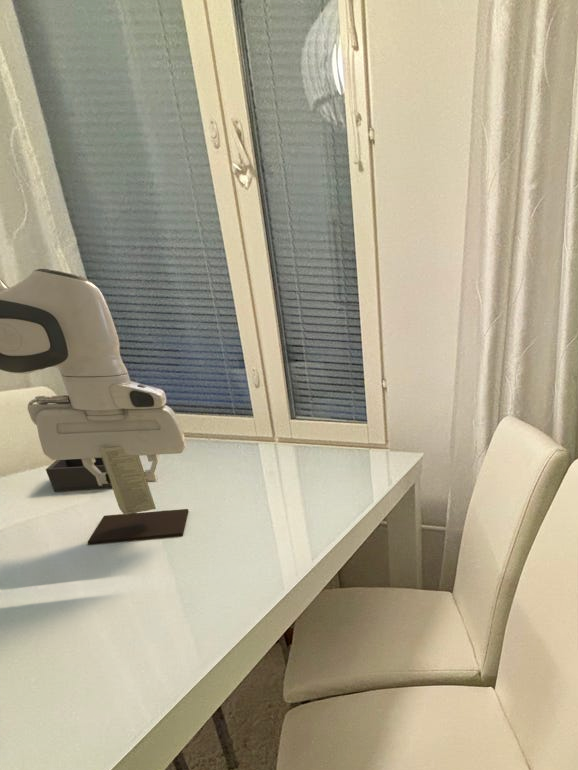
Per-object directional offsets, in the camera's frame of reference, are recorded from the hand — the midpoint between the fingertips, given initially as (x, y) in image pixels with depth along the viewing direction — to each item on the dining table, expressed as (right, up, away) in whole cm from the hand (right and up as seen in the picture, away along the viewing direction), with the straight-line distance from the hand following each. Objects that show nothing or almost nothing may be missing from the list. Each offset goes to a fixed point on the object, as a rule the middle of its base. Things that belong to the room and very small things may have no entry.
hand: (129, 483), depth 93 cm
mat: (0, -7, +4) cm, 8 cm away
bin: (-26, +8, +28) cm, 39 cm away
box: (0, -4, +2) cm, 5 cm away
